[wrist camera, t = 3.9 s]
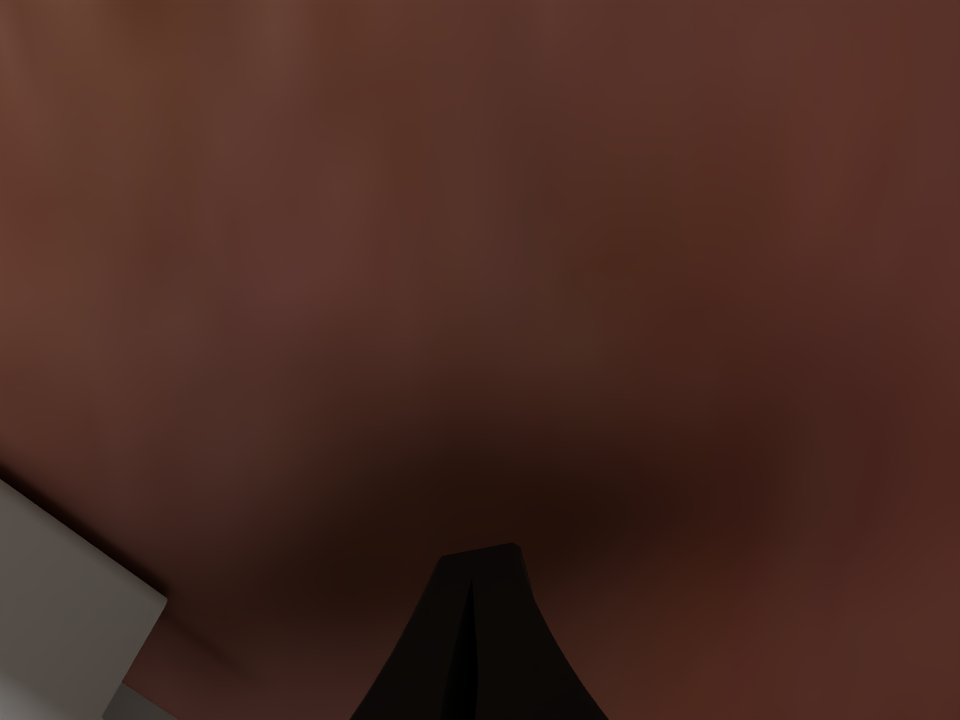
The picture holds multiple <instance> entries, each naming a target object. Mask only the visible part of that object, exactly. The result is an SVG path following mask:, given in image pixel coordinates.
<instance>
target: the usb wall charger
mask: <svg viewBox="0 0 960 720" xmlns="http://www.w3.org/2000/svg"><path fill="white" fill-rule="evenodd" d="M166 603H167V598H166V597H164V596H163V595H162V594H160V593H159V592H157V591H156V590H155V589H153V588H152V587H150V586H149V585H148V584H146V583H145V582H143V581H142V580H141V579H139V578H138V577H136V576H135V575H134V574H132V573H131V572H129V571H128V570H127V569H125V568H124V567H122V566H121V565H120V564H118V563H117V562H115V561H114V560H113V559H111V558H110V557H108V556H107V555H106V554H104V553H103V552H102V551H100V550H99V549H97V548H96V547H95V546H93V545H92V544H90V543H89V542H88V541H86V540H85V539H83V538H82V537H81V536H79V535H78V534H76V533H75V532H74V531H72V530H71V529H69V528H68V527H67V526H65V525H64V524H62V523H61V522H60V521H58V520H57V519H55V518H54V517H53V516H51V515H50V514H48V513H47V512H46V511H44V510H43V509H41V508H40V507H39V506H37V505H36V504H34V503H33V502H32V501H30V500H29V499H27V498H26V497H25V496H23V495H22V494H20V493H19V492H18V491H16V490H15V489H13V488H12V487H11V486H9V485H8V484H6V483H5V482H4V481H2V480H1V479H0V720H178V719H177V718H175V717H174V716H172V715H171V714H169V713H168V712H166V711H165V710H163V709H161V708H160V707H158V706H157V705H155V704H154V703H152V702H151V701H149V700H148V699H146V698H145V697H143V696H142V695H140V694H139V693H137V692H136V691H134V690H133V689H131V688H130V687H128V686H127V685H125V684H124V683H122V680H123V678H124V677H125V675H126V673H127V672H128V670H129V668H130V666H131V665H132V663H133V661H134V659H135V658H136V656H137V654H138V653H139V651H140V649H141V647H142V646H143V644H144V642H145V640H146V639H147V637H148V635H149V634H150V632H151V630H152V628H153V627H154V625H155V623H156V621H157V620H158V618H159V616H160V615H161V613H162V611H163V609H164V607H165V605H166Z"/></svg>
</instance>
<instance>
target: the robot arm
mask: <svg viewBox="0 0 960 720" xmlns="http://www.w3.org/2000/svg"><path fill="white" fill-rule="evenodd" d="M350 720H609V719H608V718H607V717H606V715H605V714H604V713H603V712H602V710H601V709H600V708H599V706H598V705H597V704H596V702H595V701H594V699H593V698H592V697H591V695H590V694H589V693H588V691H587V690H586V688H585V687H584V686H583V684H582V683H581V681H580V680H579V678H578V677H577V675H576V674H575V672H574V671H573V669H572V667H571V666H570V664H569V663H568V661H567V659H566V658H565V656H564V654H563V653H562V651H561V650H560V648H559V646H558V645H557V643H556V641H555V639H554V637H553V636H552V634H551V632H550V630H549V628H548V626H547V624H546V622H545V620H544V618H543V616H542V614H541V612H540V610H539V608H538V606H537V604H536V602H535V600H534V597H533V593H532V589H531V586H530V582H529V578H528V574H527V570H526V567H525V563H524V559H523V555H522V551H521V548H520V547H519V546H517V545H516V544H514V543H508V544H503V545H498V546H493V547H488V548H483V549H477V550H472V551H467V552H462V553H457V554H452V555H446V556H442V557H441V558H440V560H439V561H438V563H437V564H436V567H435V569H434V571H433V573H432V575H431V577H430V580H429V582H428V584H427V586H426V588H425V590H424V592H423V594H422V596H421V599H420V601H419V603H418V605H417V607H416V609H415V611H414V613H413V615H412V616H411V618H410V620H409V622H408V624H407V626H406V628H405V629H404V631H403V633H402V635H401V637H400V639H399V641H398V642H397V644H396V646H395V648H394V650H393V652H392V653H391V655H390V657H389V659H388V660H387V662H386V663H385V665H384V667H383V668H382V670H381V672H380V673H379V675H378V676H377V678H376V680H375V681H374V683H373V685H372V686H371V688H370V690H369V691H368V693H367V694H366V696H365V698H364V699H363V701H362V702H361V704H360V705H359V707H358V708H357V709H356V711H355V712H354V714H353V715H352V717H351V718H350Z"/></svg>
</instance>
